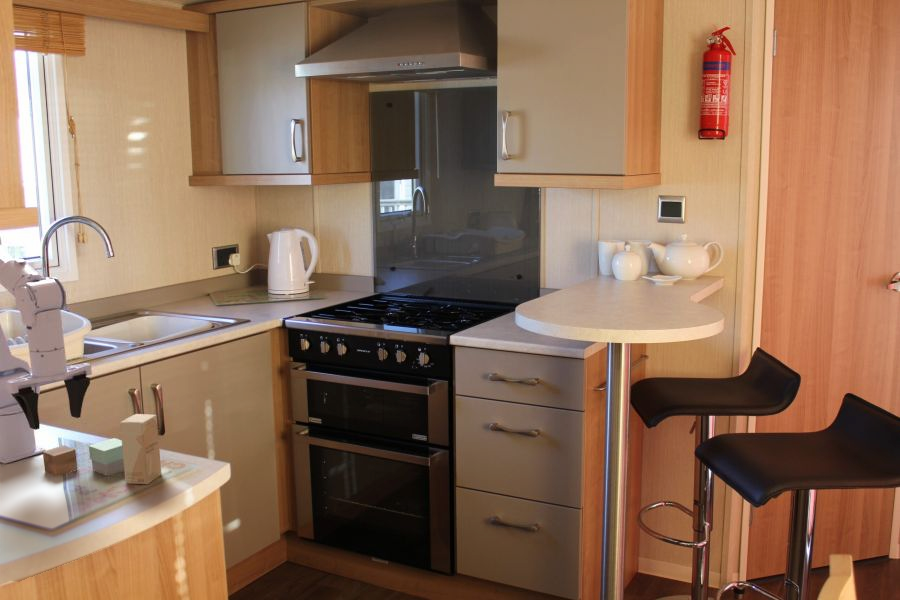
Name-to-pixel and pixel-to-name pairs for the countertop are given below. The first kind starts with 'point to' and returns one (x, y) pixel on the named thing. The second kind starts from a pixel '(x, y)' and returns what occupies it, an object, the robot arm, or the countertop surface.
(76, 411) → the robot arm
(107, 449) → the slab upper
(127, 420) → the box
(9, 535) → the countertop surface
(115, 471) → the slab lower
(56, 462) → the walnut cube
